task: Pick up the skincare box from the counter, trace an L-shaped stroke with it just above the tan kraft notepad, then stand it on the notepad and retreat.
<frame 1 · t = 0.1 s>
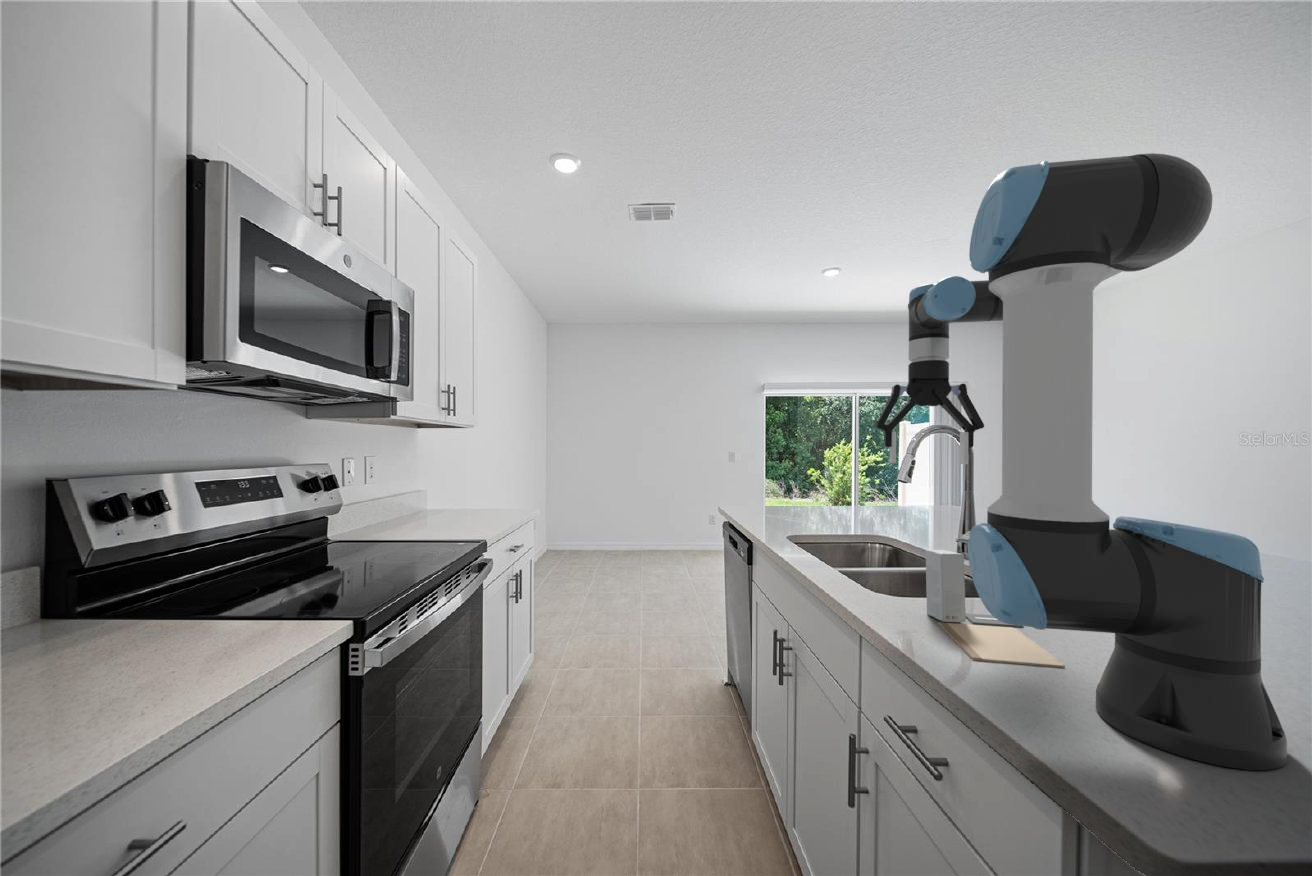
hand: (927, 463, 111), 28 cm above the countertop, tool pointing down, fingers open, 13 cm apart
skincare box: (945, 619, 97), on the countertop, touching notepad
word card: (992, 620, 96), on the countertop
notepad: (995, 643, 85), on the countertop
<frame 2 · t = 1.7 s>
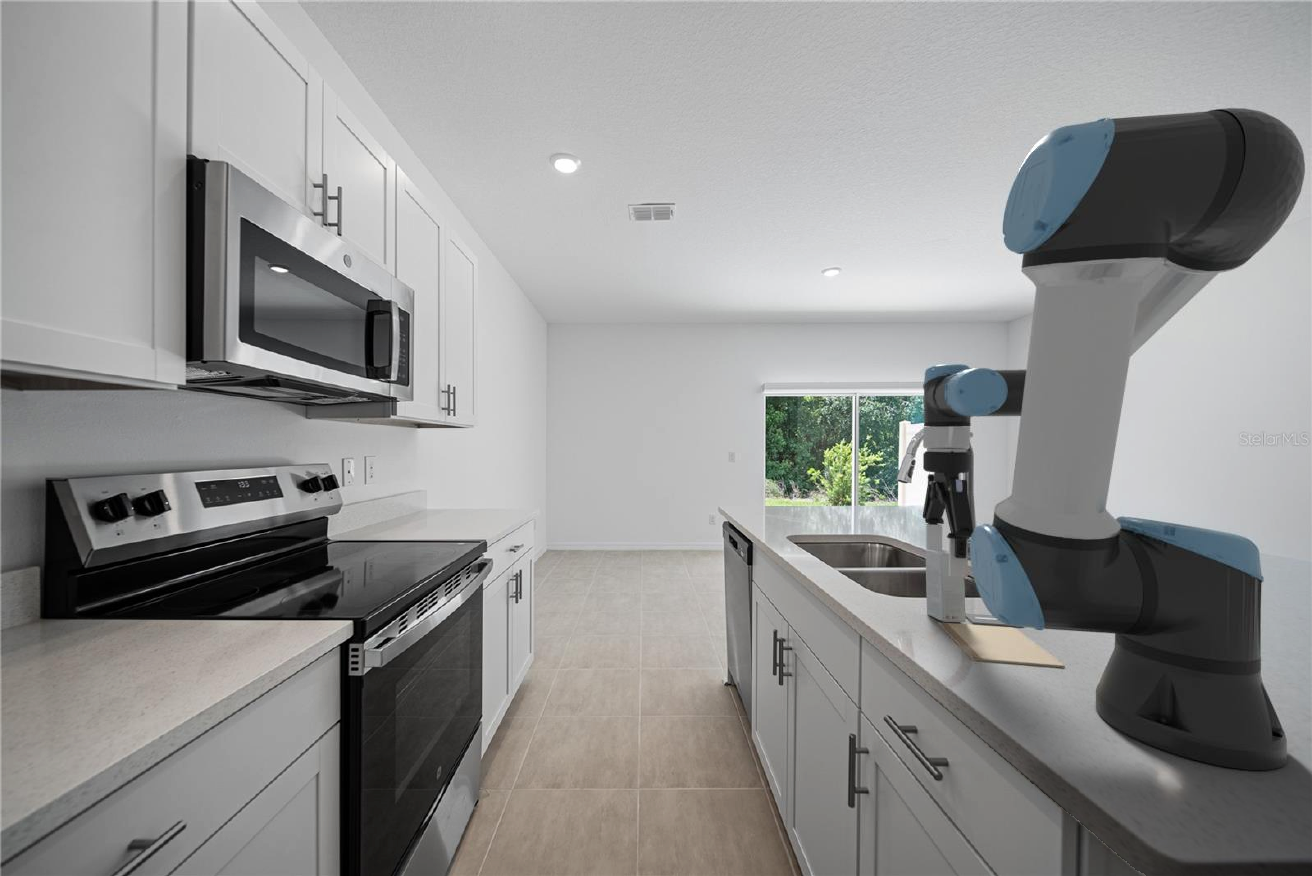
hand: (945, 566, 97), 9 cm above the countertop, tool pointing down, fingers open, 13 cm apart
nothing on the countertop moved.
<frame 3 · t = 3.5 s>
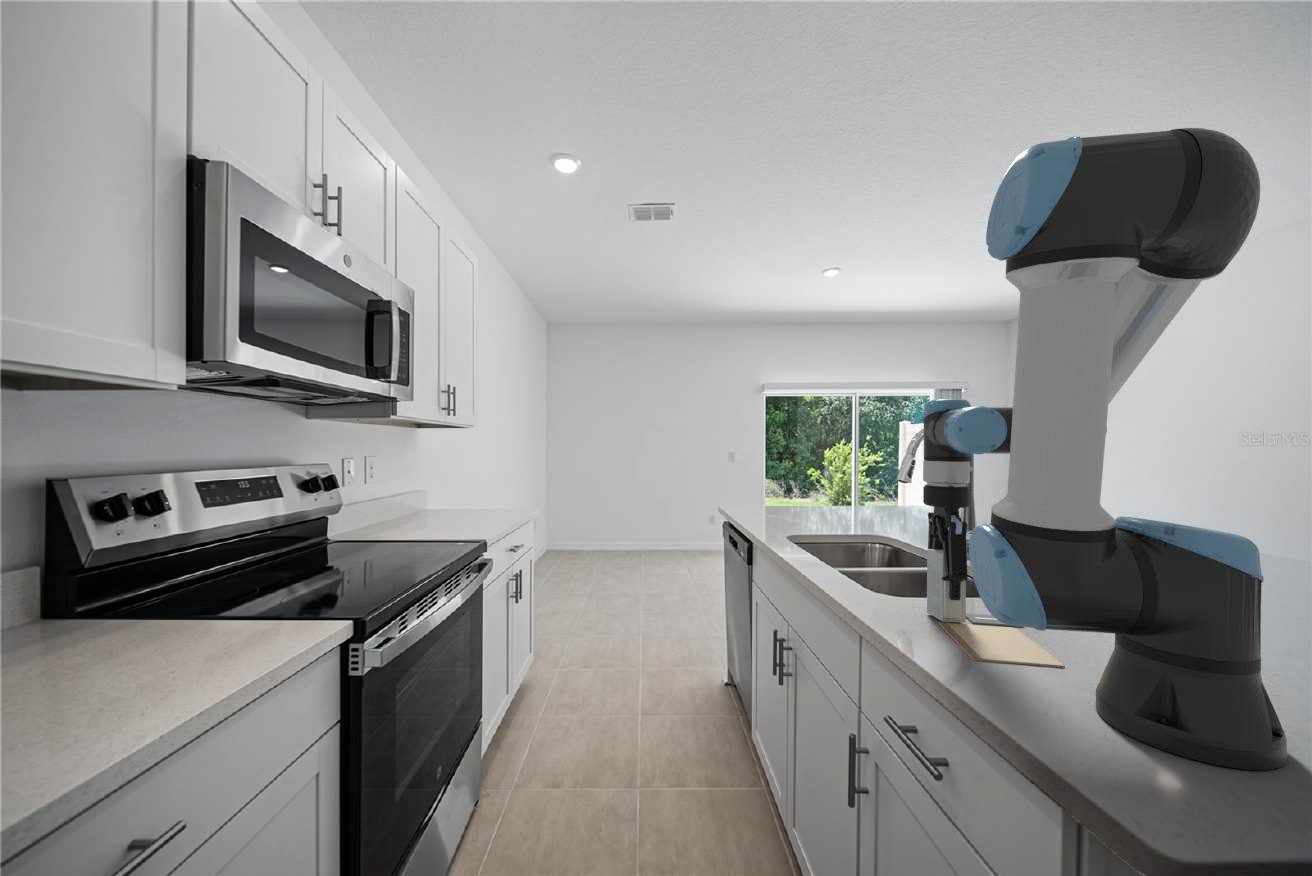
hand: (945, 610, 97), 2 cm above the countertop, tool pointing down, fingers closed on skincare box, 7 cm apart
skincare box: (945, 619, 97), on the countertop, touching gripper, notepad
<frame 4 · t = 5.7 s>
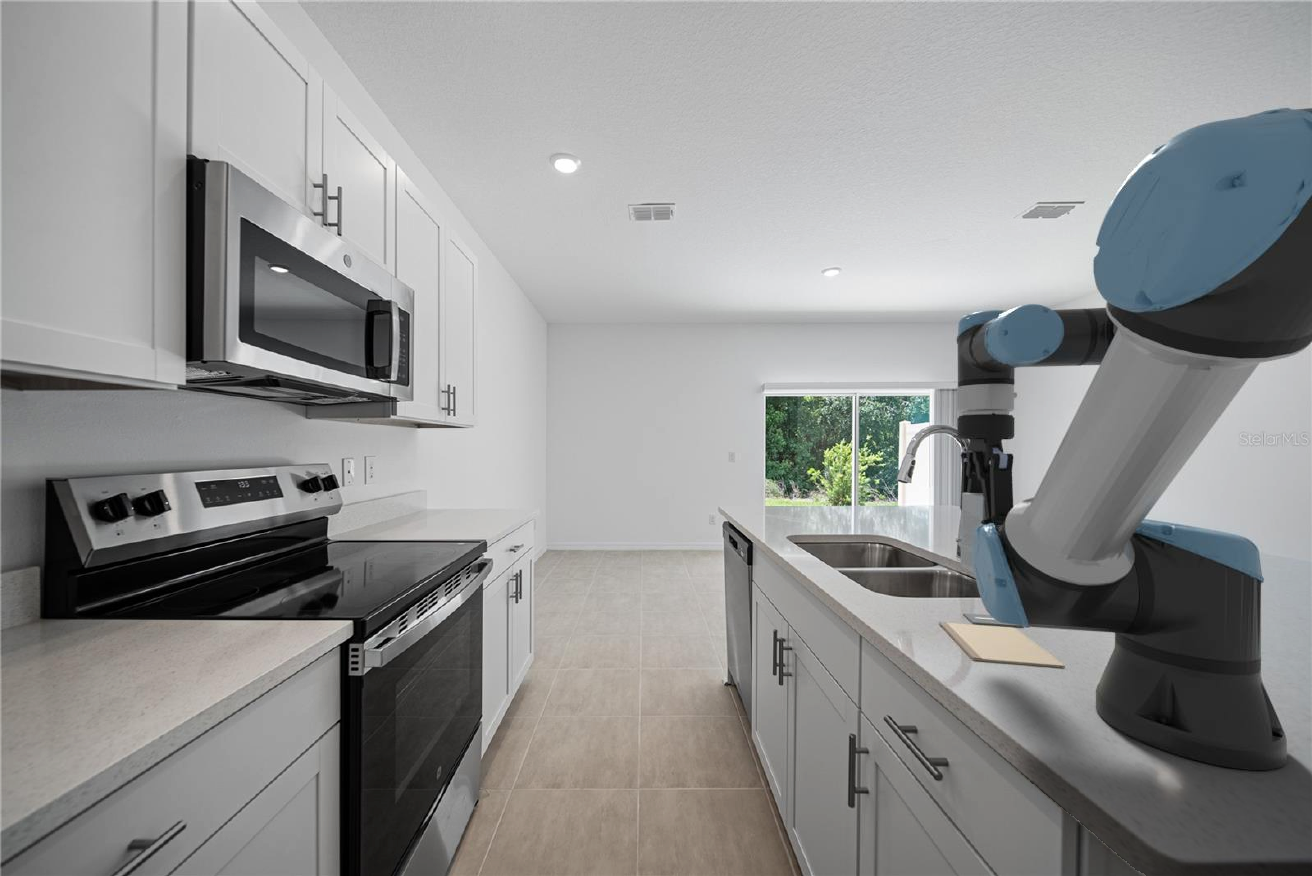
hand: (984, 562, 82), 14 cm above the countertop, tool pointing down, fingers closed on skincare box, 6 cm apart
skincare box: (983, 573, 82), point 12 cm above the countertop, touching gripper
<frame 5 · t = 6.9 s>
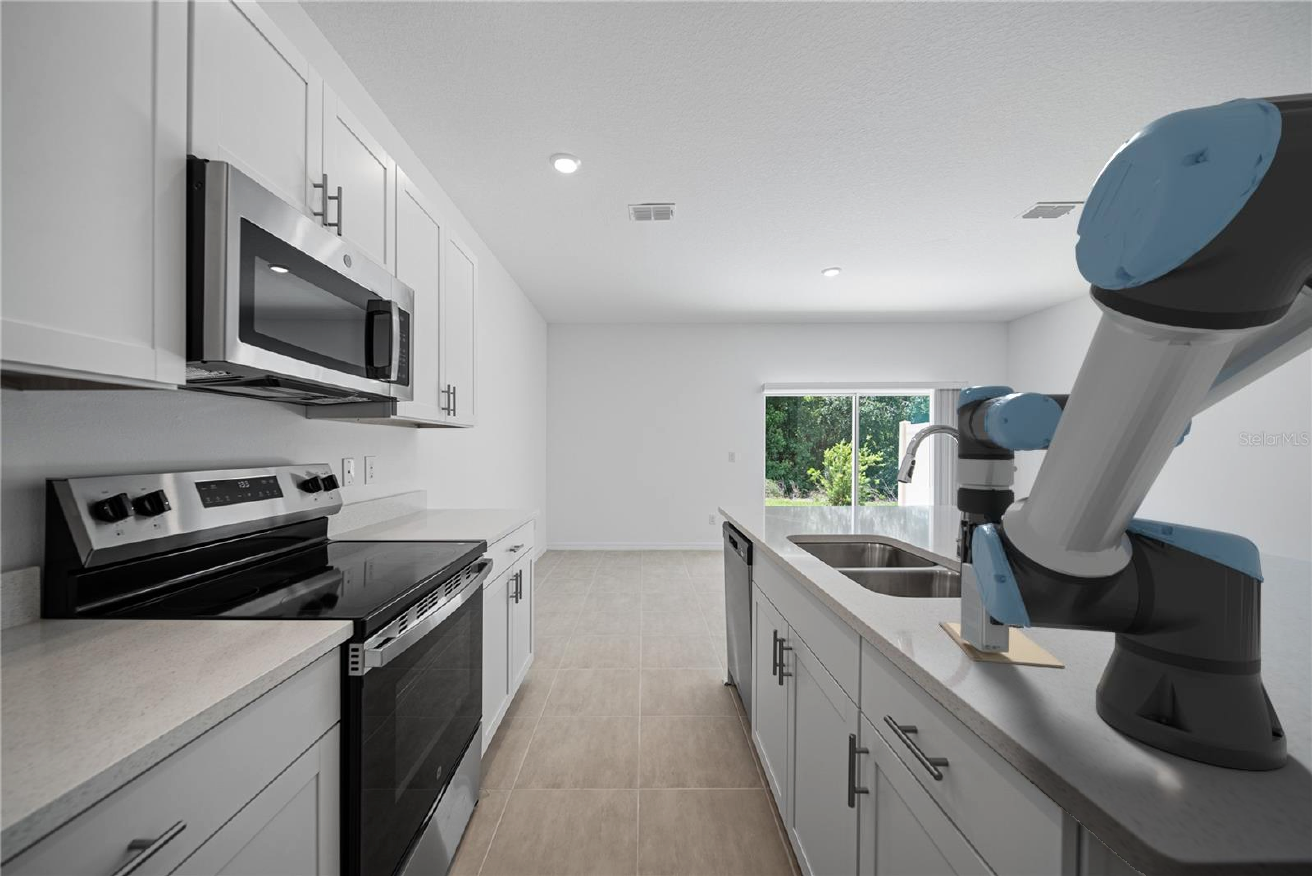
hand: (984, 636, 82), 2 cm above the countertop, tool pointing down, fingers closed on skincare box, 6 cm apart
skincare box: (983, 646, 82), point 1 cm above the countertop, touching gripper
when the fingers open (2 cm above the countertop, at t = 9.8 s): skincare box stays where it is, resting on notepad.
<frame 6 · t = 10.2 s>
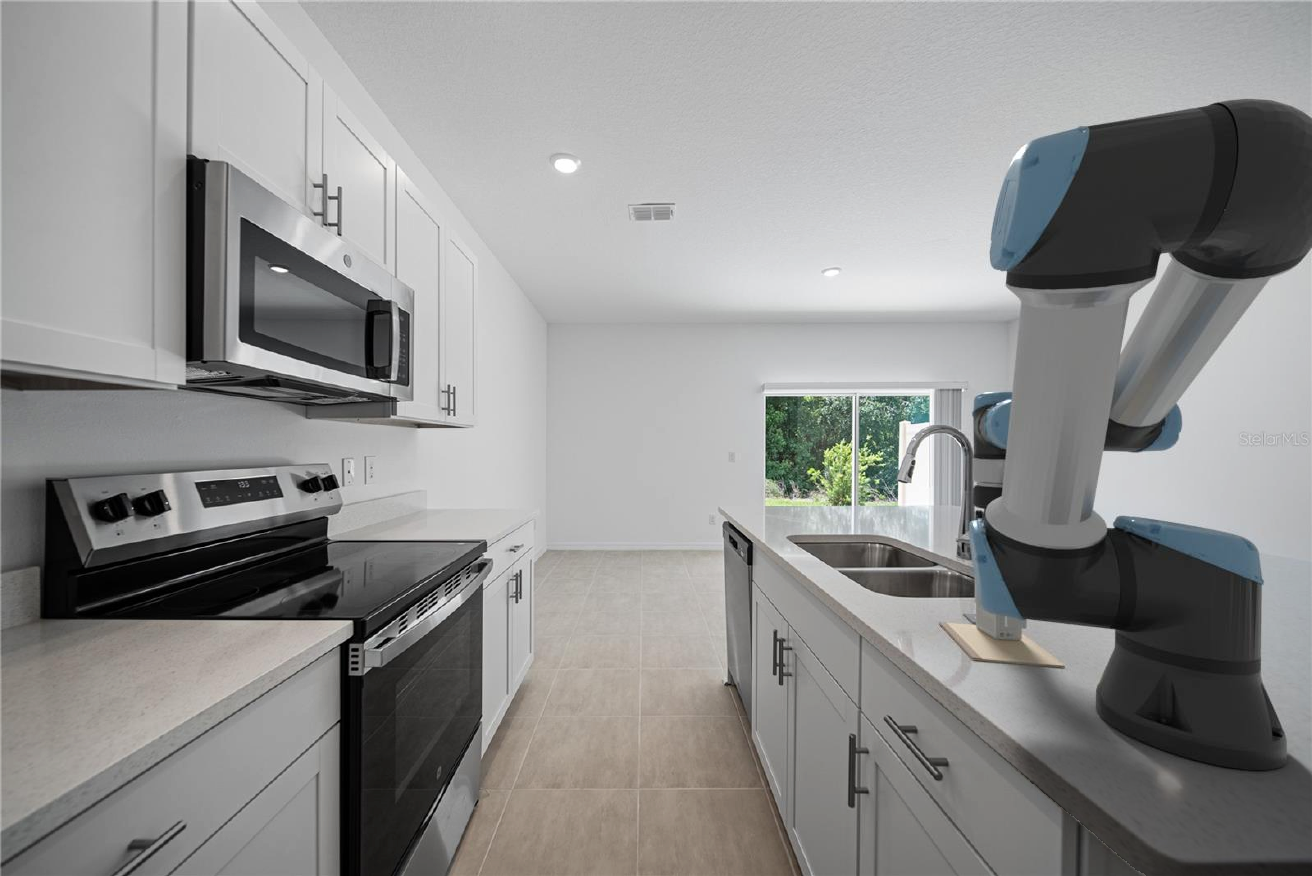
hand: (998, 614, 89), 4 cm above the countertop, tool pointing down, fingers open, 12 cm apart
skincare box: (997, 635, 89), resting on notepad
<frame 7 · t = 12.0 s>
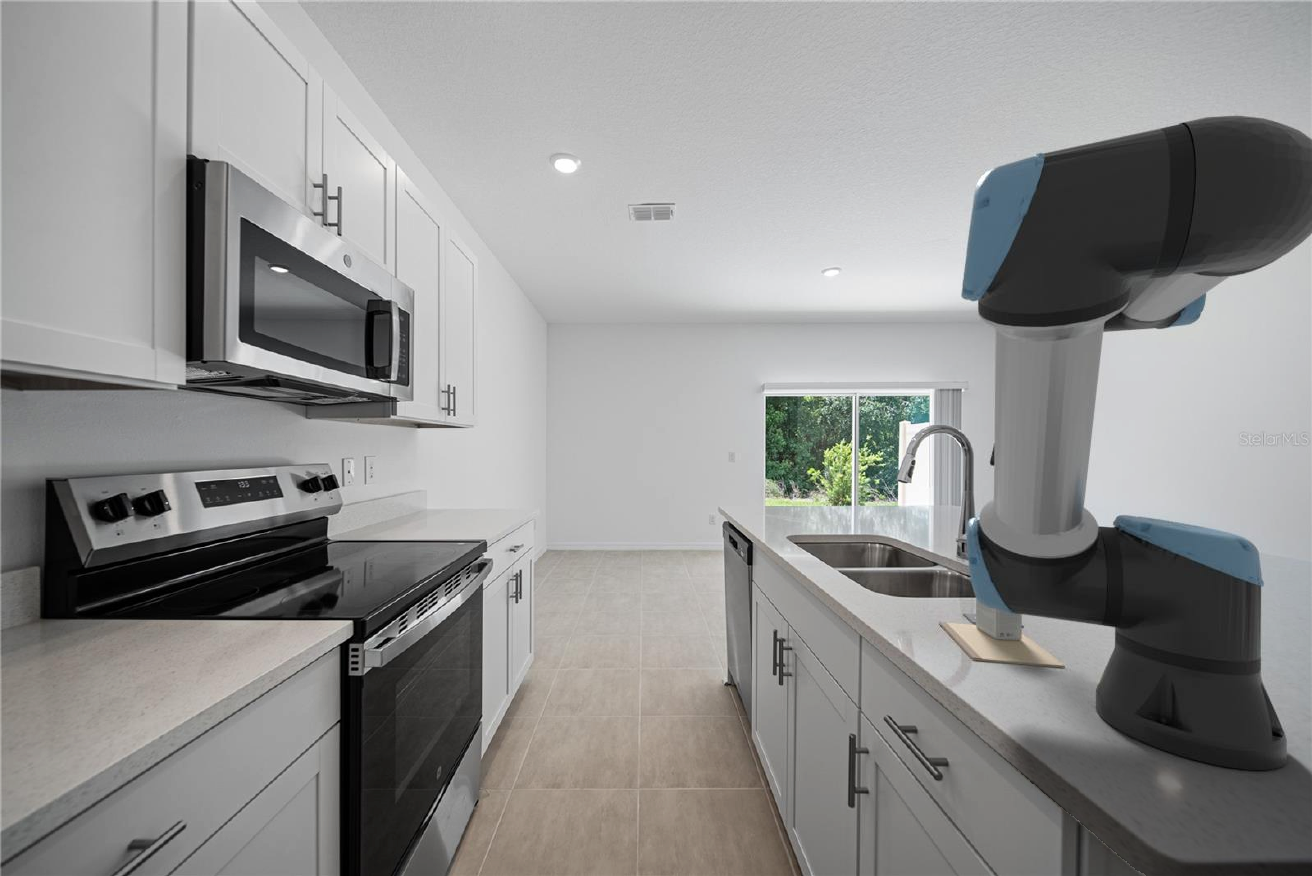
hand: (1025, 511, 88), 21 cm above the countertop, tool pointing down, fingers open, 13 cm apart
nothing on the countertop moved.
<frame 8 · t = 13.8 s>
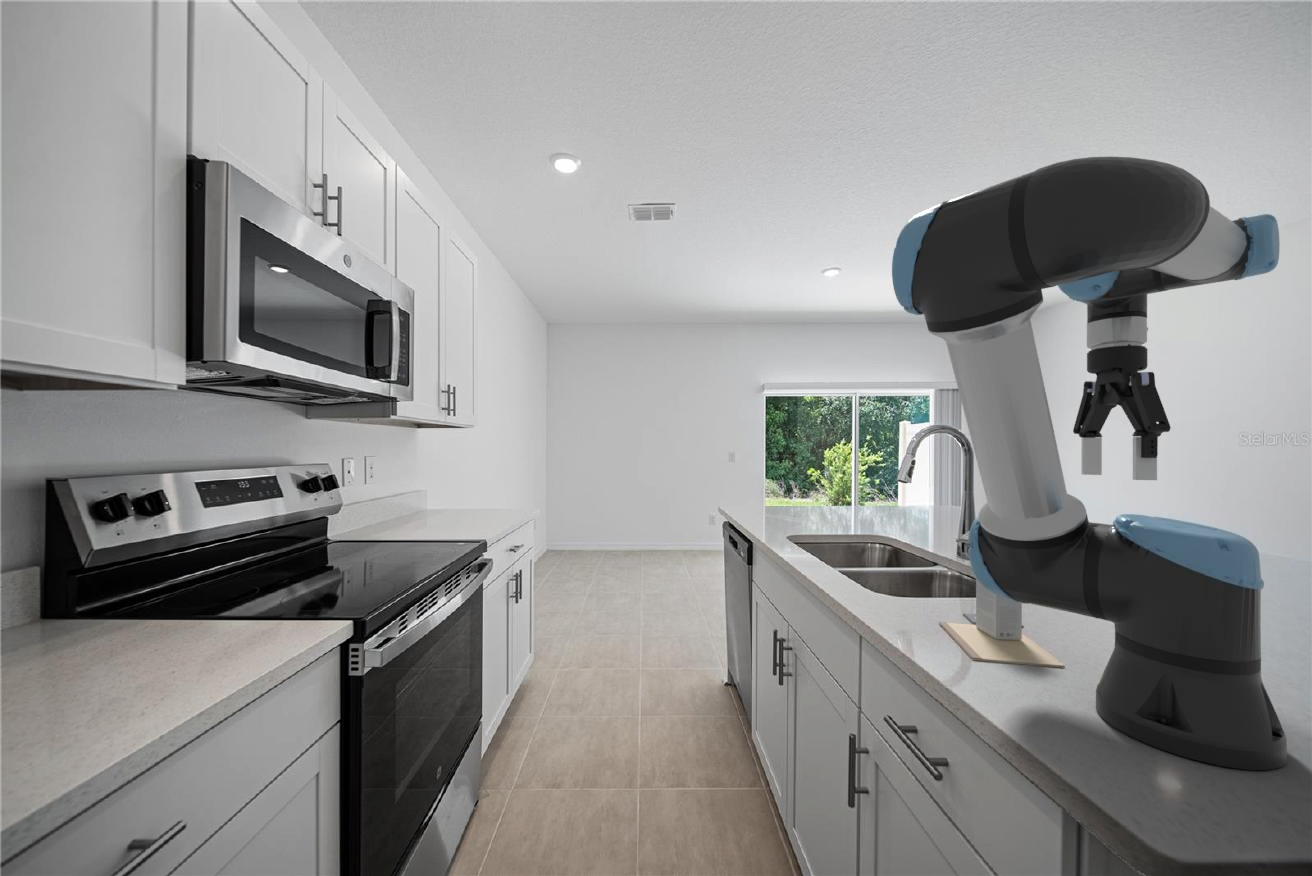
hand: (1116, 477, 87), 27 cm above the countertop, tool pointing down, fingers open, 13 cm apart
nothing on the countertop moved.
at the end: skincare box inside the target area on the notepad (4.4 cm from its centre), point 0.1 cm above the notepad's base; skincare box tilted 0°; the gripper is holding nothing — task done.
